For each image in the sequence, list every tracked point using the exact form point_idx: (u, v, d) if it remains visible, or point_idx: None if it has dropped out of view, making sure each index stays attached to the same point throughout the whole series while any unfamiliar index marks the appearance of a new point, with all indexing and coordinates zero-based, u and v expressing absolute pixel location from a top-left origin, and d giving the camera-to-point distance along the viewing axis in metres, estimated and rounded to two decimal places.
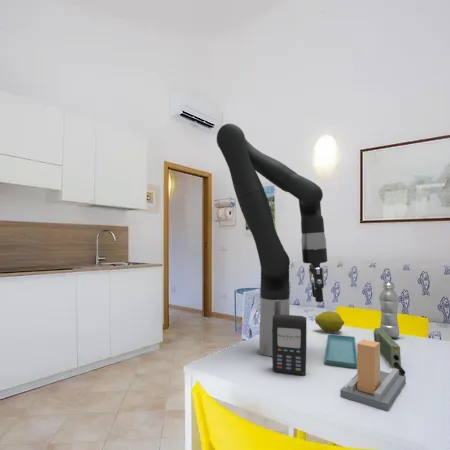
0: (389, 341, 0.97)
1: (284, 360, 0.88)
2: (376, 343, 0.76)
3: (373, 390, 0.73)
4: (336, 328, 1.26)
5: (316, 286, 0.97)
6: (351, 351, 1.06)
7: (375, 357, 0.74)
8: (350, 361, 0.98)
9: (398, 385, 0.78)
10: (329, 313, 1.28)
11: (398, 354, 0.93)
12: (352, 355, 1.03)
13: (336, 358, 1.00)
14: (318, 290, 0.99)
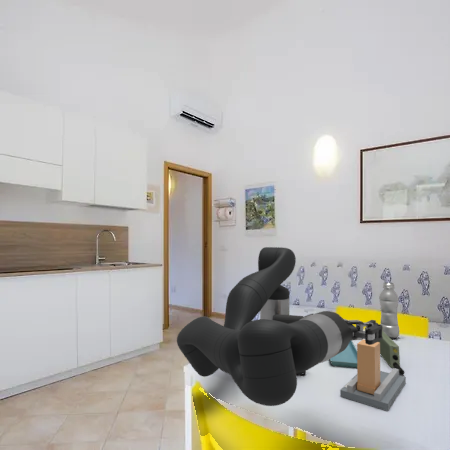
0: (388, 341, 0.97)
1: None
2: (376, 343, 0.76)
3: (373, 390, 0.73)
4: None
5: (382, 336, 0.61)
6: (350, 350, 1.07)
7: (375, 357, 0.74)
8: (353, 361, 0.98)
9: (398, 385, 0.78)
10: None
11: (397, 354, 0.93)
12: (353, 355, 1.03)
13: (339, 359, 1.00)
14: None
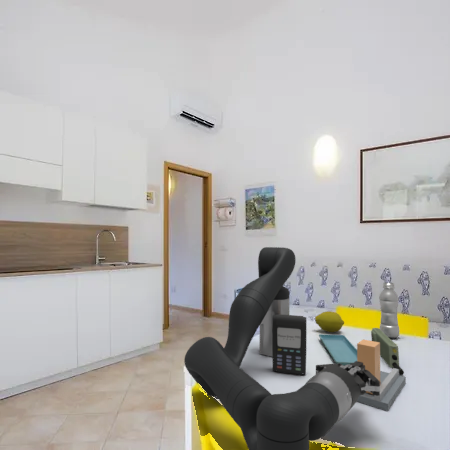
0: (387, 341, 0.97)
1: (284, 360, 0.88)
2: (376, 343, 0.76)
3: None
4: (336, 328, 1.26)
5: None
6: (349, 350, 1.07)
7: (375, 357, 0.74)
8: None
9: (398, 385, 0.78)
10: (329, 313, 1.28)
11: (396, 354, 0.93)
12: (353, 354, 1.03)
13: (342, 359, 0.99)
14: None
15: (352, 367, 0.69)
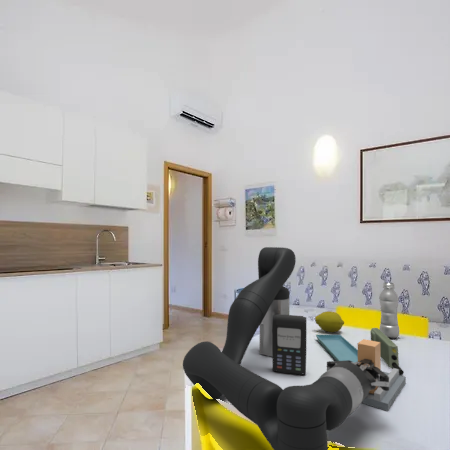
0: (387, 341, 0.97)
1: (284, 360, 0.88)
2: (376, 343, 0.77)
3: (373, 390, 0.74)
4: (336, 328, 1.26)
5: None
6: (348, 350, 1.07)
7: (375, 357, 0.74)
8: None
9: (398, 385, 0.78)
10: (329, 313, 1.28)
11: (396, 354, 0.93)
12: (353, 354, 1.04)
13: (344, 359, 0.99)
14: None
15: (361, 364, 0.72)
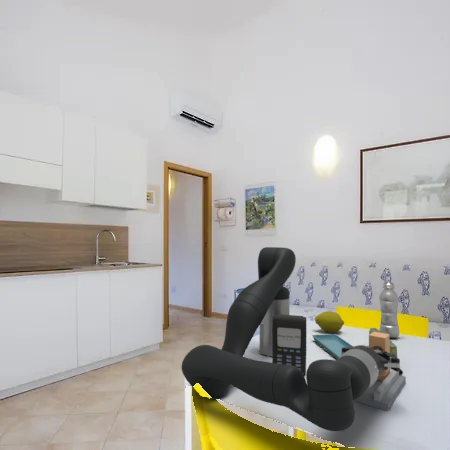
0: None
1: (284, 360, 0.88)
2: (386, 335, 0.83)
3: (384, 377, 0.80)
4: (336, 328, 1.26)
5: None
6: None
7: (385, 347, 0.81)
8: None
9: (398, 385, 0.78)
10: (329, 313, 1.28)
11: (395, 354, 0.93)
12: None
13: None
14: None
15: None
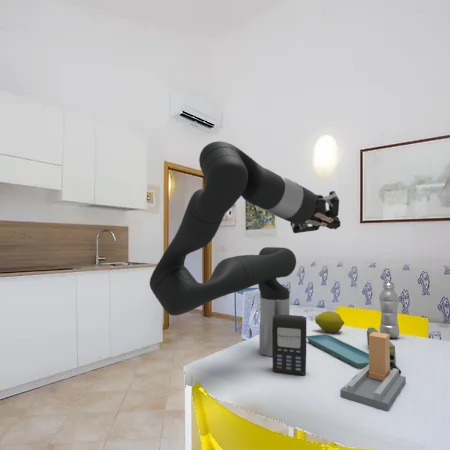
0: None
1: (284, 360, 0.88)
2: (386, 335, 0.83)
3: (384, 377, 0.80)
4: (336, 328, 1.26)
5: None
6: (345, 349, 1.08)
7: (385, 347, 0.81)
8: (364, 359, 1.00)
9: (398, 385, 0.78)
10: (329, 313, 1.28)
11: (393, 354, 0.93)
12: (353, 353, 1.05)
13: (351, 359, 0.99)
14: None
15: None
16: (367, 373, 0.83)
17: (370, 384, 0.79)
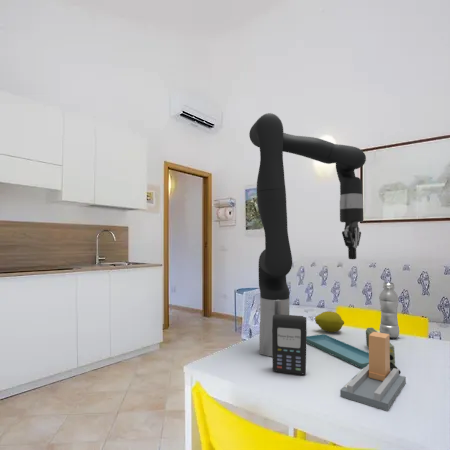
0: None
1: (284, 360, 0.88)
2: (386, 335, 0.83)
3: (384, 377, 0.80)
4: (336, 328, 1.26)
5: None
6: (344, 349, 1.09)
7: (385, 347, 0.81)
8: (365, 359, 1.00)
9: (398, 385, 0.78)
10: (329, 313, 1.28)
11: (392, 354, 0.93)
12: (353, 352, 1.05)
13: (352, 359, 0.99)
14: None
15: None
16: (367, 373, 0.83)
17: (370, 384, 0.79)
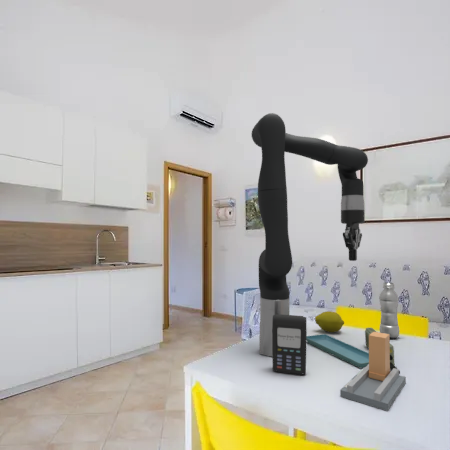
0: None
1: (284, 360, 0.88)
2: (386, 335, 0.83)
3: (384, 377, 0.80)
4: (336, 328, 1.26)
5: None
6: (344, 349, 1.09)
7: (385, 347, 0.81)
8: (364, 359, 1.00)
9: (398, 385, 0.78)
10: (329, 313, 1.28)
11: (392, 354, 0.93)
12: (353, 352, 1.05)
13: None
14: None
15: None
16: (367, 373, 0.83)
17: (370, 384, 0.79)
